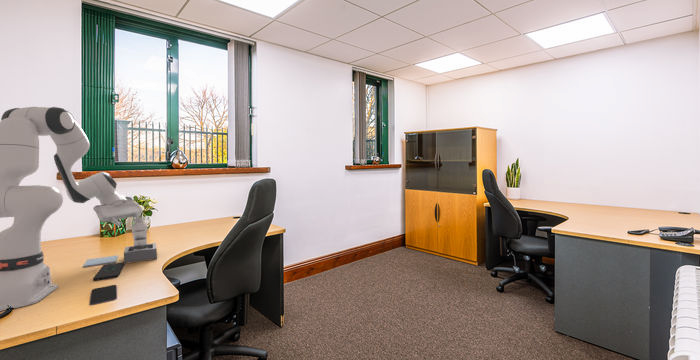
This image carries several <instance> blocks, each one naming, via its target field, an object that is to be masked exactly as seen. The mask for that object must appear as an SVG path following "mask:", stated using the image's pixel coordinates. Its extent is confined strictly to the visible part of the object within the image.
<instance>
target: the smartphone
mask: <svg viewBox="0 0 700 360" xmlns="http://www.w3.org/2000/svg"><path fill="white" fill-rule="evenodd" d="M117 288H118V287H117V284H112V285H106V286H102V287H96V288H93V289H91V292H90V298H89V305H90V306H94V305H95V306H96V305H99V304H104V303H108V302H112V301H115V300H117V299H118V293H117V291H118V289H117Z"/></svg>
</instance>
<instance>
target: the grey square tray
mask: <svg viewBox="0 0 700 360" xmlns="http://www.w3.org/2000/svg"><path fill="white" fill-rule="evenodd" d="M147 245H148V249H144V250H137V251H133V250H134V245H131V246H125V247H124V250H123V262H125V264H131V263H135V262H143V261H149V260H155V259H158V254H157V253H158V251H157V249H158V248H157V243H156V242H154V243H147Z"/></svg>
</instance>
